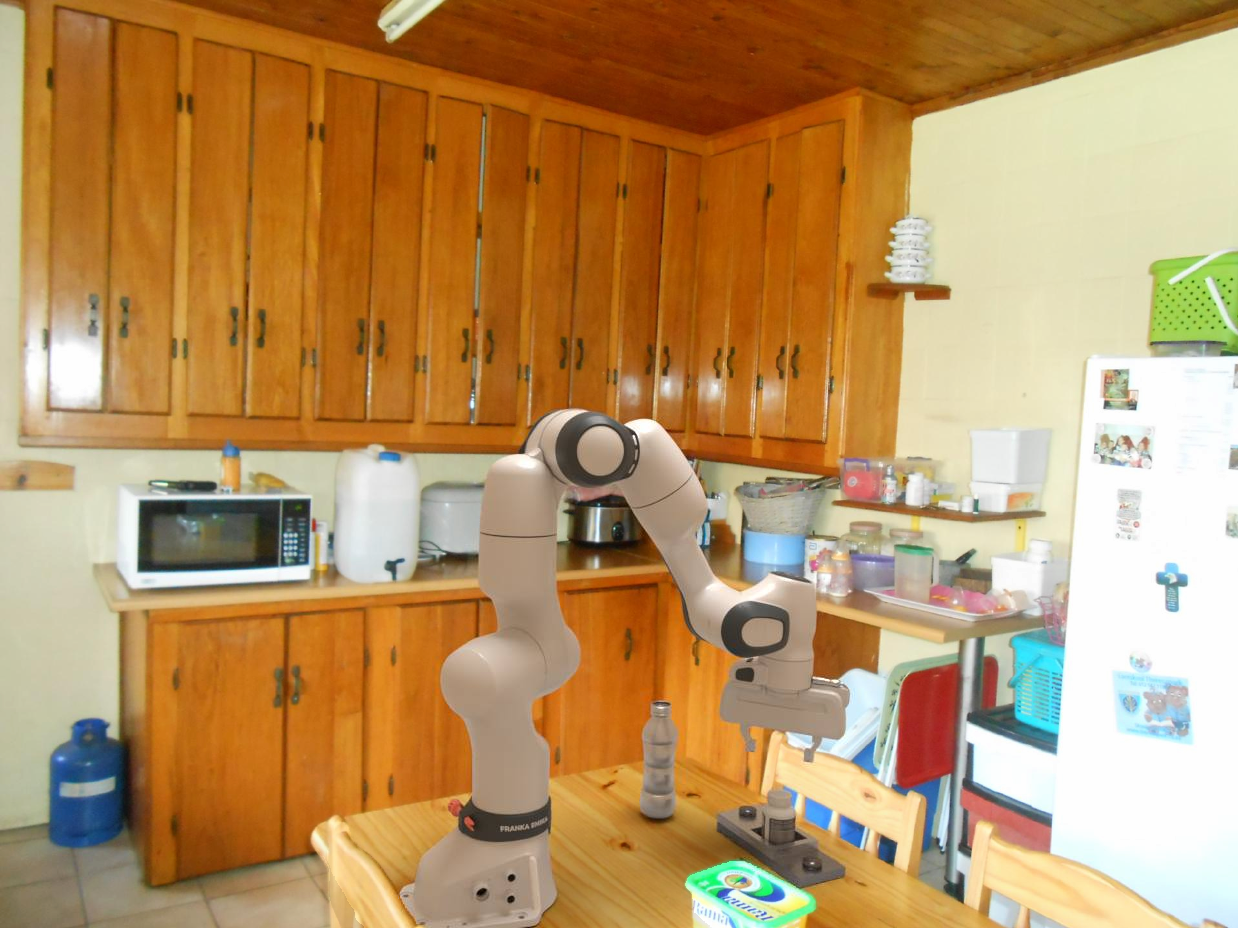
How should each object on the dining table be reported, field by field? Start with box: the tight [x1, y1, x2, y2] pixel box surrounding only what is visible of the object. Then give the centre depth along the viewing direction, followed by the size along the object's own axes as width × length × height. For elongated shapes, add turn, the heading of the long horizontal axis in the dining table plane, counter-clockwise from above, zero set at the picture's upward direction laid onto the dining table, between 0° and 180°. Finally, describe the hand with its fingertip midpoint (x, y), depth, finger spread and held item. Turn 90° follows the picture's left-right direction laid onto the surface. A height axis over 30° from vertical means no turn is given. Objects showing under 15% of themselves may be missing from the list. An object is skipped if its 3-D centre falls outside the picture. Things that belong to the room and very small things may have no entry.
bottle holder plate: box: [716, 803, 846, 889], centre depth 152 cm, size 9×22×4 cm, turn 28°
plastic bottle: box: [639, 700, 679, 820], centre depth 164 cm, size 6×7×20 cm
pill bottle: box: [761, 788, 797, 846], centre depth 152 cm, size 5×5×10 cm
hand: (779, 755), depth 152 cm, fingers open, 8 cm apart
